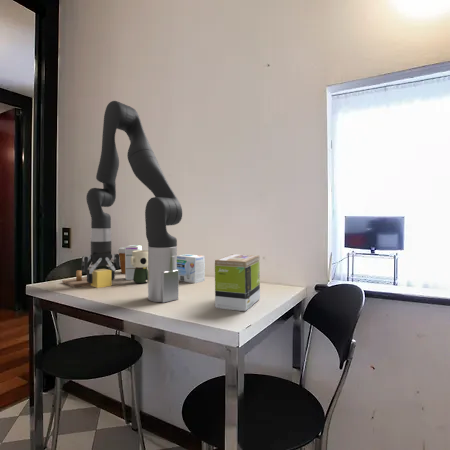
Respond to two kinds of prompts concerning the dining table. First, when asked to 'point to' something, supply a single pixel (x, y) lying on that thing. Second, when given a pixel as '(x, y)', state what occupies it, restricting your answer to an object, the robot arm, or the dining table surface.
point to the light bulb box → (191, 268)
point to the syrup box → (128, 267)
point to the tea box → (237, 282)
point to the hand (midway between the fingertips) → (101, 281)
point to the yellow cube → (102, 278)
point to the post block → (77, 280)
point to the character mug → (140, 265)
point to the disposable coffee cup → (122, 259)
